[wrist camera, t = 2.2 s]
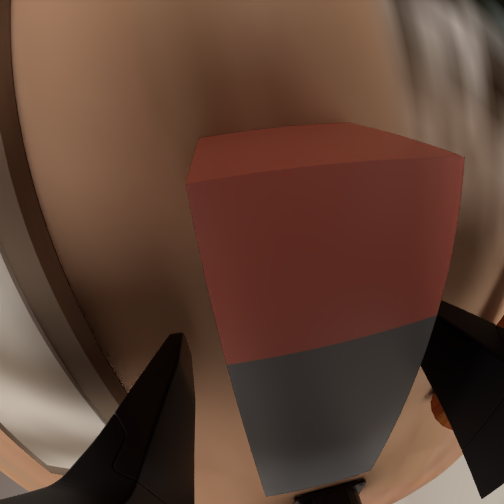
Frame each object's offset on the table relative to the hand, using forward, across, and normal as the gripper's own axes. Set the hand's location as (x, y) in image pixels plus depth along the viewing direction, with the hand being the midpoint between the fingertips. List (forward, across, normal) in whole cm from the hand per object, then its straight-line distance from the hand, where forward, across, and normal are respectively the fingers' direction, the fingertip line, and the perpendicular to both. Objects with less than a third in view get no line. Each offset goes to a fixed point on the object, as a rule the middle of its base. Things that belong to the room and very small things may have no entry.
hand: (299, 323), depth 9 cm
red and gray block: (+1, 0, 0) cm, 1 cm away
